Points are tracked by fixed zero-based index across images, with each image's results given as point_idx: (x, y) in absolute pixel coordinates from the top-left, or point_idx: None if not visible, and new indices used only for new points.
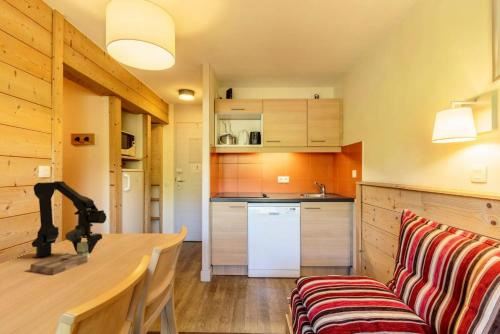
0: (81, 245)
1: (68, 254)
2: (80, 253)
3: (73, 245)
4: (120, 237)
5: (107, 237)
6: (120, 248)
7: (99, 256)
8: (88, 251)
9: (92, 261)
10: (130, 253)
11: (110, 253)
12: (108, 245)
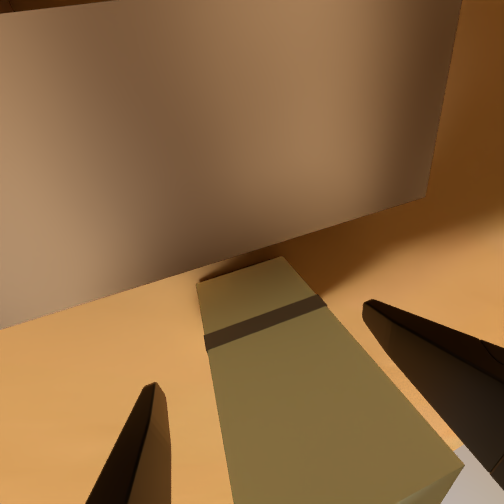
0: (289, 473)
1: (353, 190)
2: (250, 316)
3: (493, 345)
4: None
5: (448, 444)
6: (228, 492)
7: None
8: (146, 412)
9: (12, 332)
10: None
11: None
12: None
